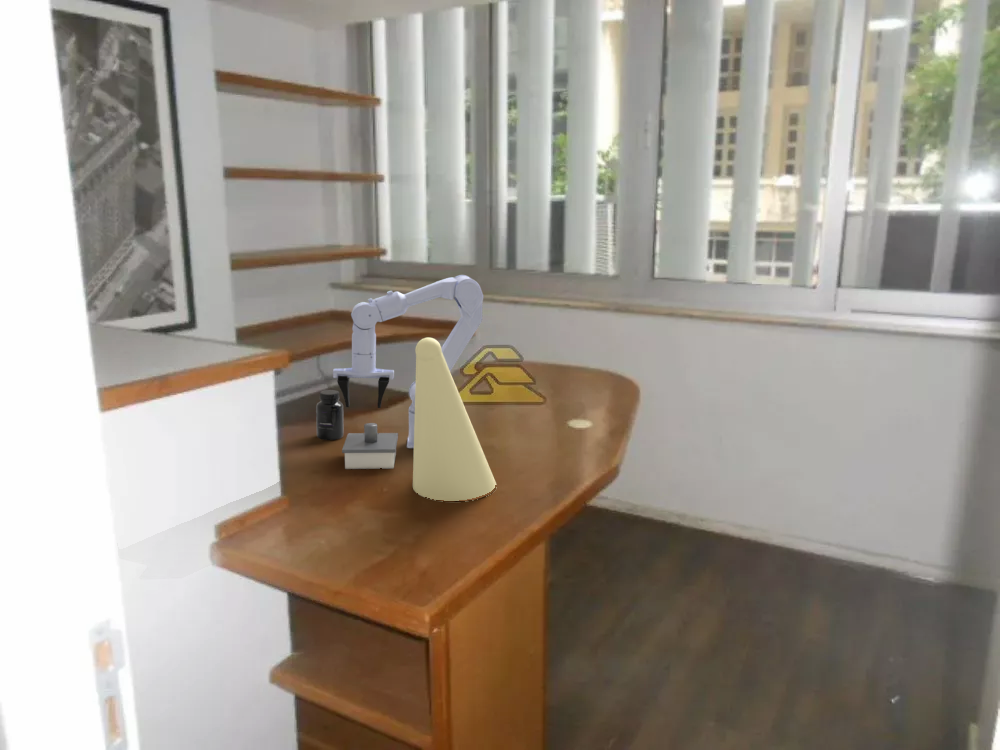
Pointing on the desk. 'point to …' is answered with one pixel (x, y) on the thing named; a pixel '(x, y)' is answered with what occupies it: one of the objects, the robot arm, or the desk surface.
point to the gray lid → (370, 441)
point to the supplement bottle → (329, 416)
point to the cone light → (444, 434)
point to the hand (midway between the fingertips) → (363, 406)
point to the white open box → (369, 460)
